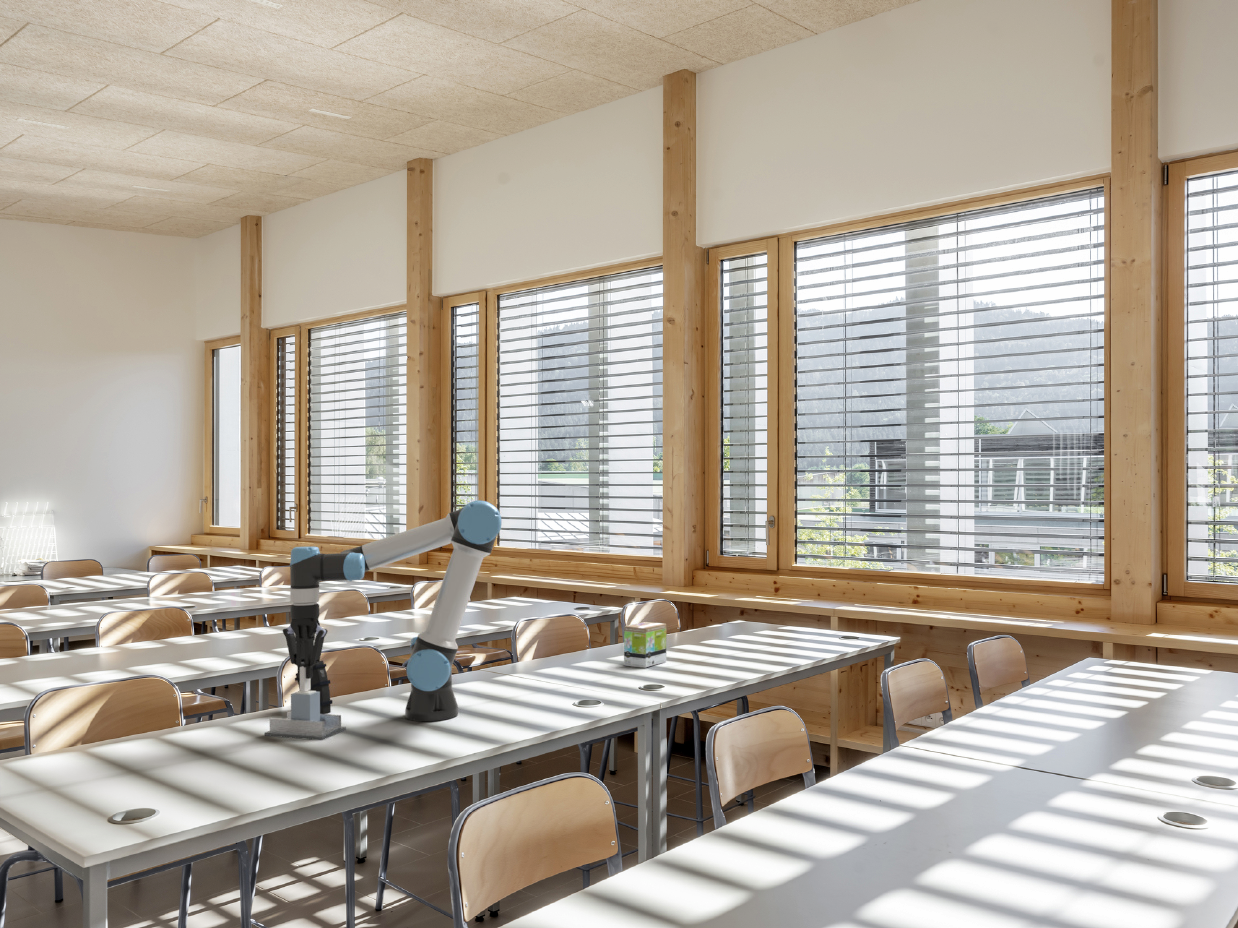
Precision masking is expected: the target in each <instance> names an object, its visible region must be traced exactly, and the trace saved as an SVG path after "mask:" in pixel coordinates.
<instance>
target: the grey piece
mask: <svg viewBox="0 0 1238 928" xmlns="http://www.w3.org/2000/svg"><path fill="white" fill-rule="evenodd" d="M346 730H347V727H346V726H342V715H341V714H332V713H326V714H320V721H311V720H296V719H291V711H287V712H286V718H280V717H278V718H277V717H270V718H269V731H265V732H264V735H266V736H265V737H275V736H282V737H281V738H289V737H292V738H291V739H302V738H309V739H308V740H315V741H316V740H317V741H323V740H325V738H326V739H328V738H330V737H333V736H335V735H338V734H340V733H341V732H344V731H346Z"/></svg>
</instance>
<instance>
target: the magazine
mask: <svg viewBox="0 0 1238 928" xmlns="http://www.w3.org/2000/svg"><path fill="white" fill-rule="evenodd" d="M326 667H327V663H324V660H320V661H319V663H318V664H315V665H313V677H312V678H311V690H309V691H317V692H320V714H331V712H332V709H331V706H332V704H333V700H332V699H331V691H330V685H329V684H331V680H330V679H328V678H329V677H328V674H327V670H326ZM295 676H296V677H295V678H294V681H295V682H297V684H298V688H299V689H298V691H300V678H298V672H296V673H295Z"/></svg>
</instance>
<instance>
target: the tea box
mask: <svg viewBox="0 0 1238 928" xmlns="http://www.w3.org/2000/svg"><path fill="white" fill-rule="evenodd" d="M623 630H624V631H623V632H624V634H623V643H624V644H623V666H626V667H633V668H643V669H644V668H645V669H647V667H651V666H655V665H656V666H657V665H658V664H663V663H667V623H663V622H662V623H661V622H649V621H648V622H647V621H644V622H639V623H638V622H637V623H635V624H629V625H624V628H623Z"/></svg>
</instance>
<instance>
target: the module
mask: <svg viewBox="0 0 1238 928" xmlns="http://www.w3.org/2000/svg"><path fill="white" fill-rule="evenodd" d="M290 712H291V719H296V720H311V721H320V692H317V691H309V690H308V691H305V692H303V691H300V690H298V691H296V692H293V693H291V694H290Z"/></svg>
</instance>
